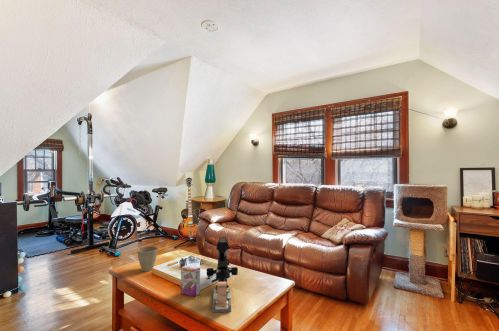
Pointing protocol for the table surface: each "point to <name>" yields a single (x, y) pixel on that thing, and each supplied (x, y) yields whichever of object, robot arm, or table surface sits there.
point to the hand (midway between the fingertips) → (222, 286)
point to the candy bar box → (190, 280)
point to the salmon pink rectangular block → (221, 296)
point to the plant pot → (147, 257)
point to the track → (227, 300)
